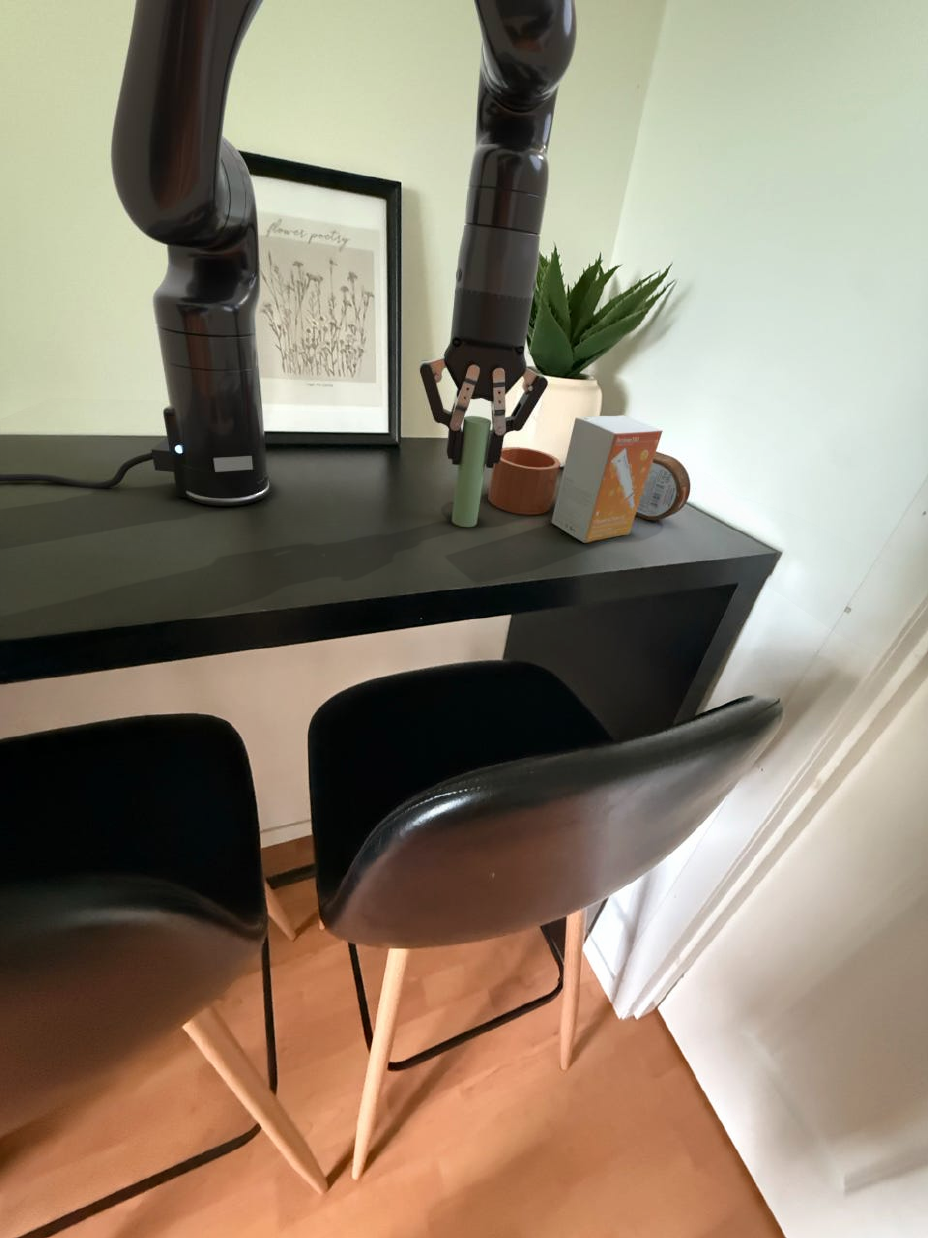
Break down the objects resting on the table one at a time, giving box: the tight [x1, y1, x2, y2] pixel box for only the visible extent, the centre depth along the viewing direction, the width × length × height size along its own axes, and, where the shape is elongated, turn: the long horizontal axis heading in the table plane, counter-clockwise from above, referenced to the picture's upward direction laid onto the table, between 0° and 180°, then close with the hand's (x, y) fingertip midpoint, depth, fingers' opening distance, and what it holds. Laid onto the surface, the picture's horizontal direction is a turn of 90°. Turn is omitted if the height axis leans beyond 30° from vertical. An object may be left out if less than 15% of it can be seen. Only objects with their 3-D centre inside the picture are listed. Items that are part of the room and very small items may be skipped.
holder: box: [487, 446, 562, 516], centre depth 72 cm, size 8×8×6 cm
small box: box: [550, 414, 664, 544], centre depth 65 cm, size 8×6×13 cm
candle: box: [451, 415, 492, 528], centre depth 63 cm, size 3×3×12 cm
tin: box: [635, 450, 691, 521], centre depth 74 cm, size 15×3×8 cm, turn 47°
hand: (471, 463), depth 62 cm, fingers open, 3 cm apart
